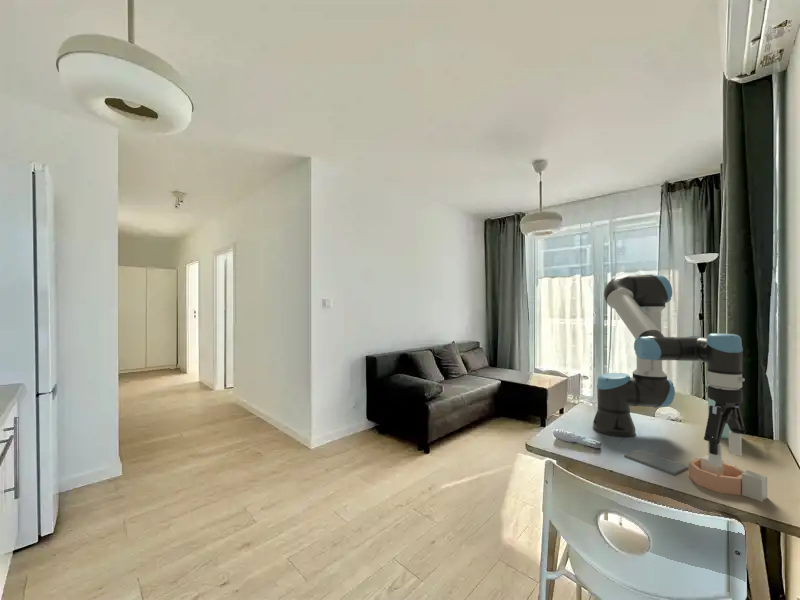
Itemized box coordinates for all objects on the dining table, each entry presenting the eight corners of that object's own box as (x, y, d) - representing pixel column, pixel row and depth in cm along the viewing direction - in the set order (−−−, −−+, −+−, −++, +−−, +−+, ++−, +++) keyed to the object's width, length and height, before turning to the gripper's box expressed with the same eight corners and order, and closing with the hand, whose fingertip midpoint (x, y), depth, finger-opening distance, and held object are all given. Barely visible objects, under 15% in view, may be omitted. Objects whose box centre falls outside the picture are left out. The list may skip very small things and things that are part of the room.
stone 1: (701, 477, 106) (700, 457, 106) (706, 474, 108) (706, 454, 108) (718, 483, 103) (717, 463, 103) (723, 480, 105) (723, 459, 105)
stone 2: (761, 479, 95) (761, 502, 95) (767, 476, 97) (767, 498, 97) (741, 473, 98) (742, 495, 98) (747, 470, 100) (747, 491, 100)
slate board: (624, 456, 122) (624, 454, 122) (638, 451, 127) (638, 449, 127) (674, 475, 109) (674, 472, 109) (688, 468, 114) (688, 466, 114)
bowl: (683, 479, 107) (683, 464, 107) (701, 469, 113) (701, 455, 113) (735, 498, 96) (735, 482, 96) (752, 487, 102) (752, 471, 102)
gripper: (722, 395, 94) (723, 475, 94) (758, 384, 106) (759, 455, 106) (688, 389, 100) (689, 464, 100) (726, 379, 112) (727, 446, 112)
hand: (725, 459), depth 103 cm, fingers open, 13 cm apart
